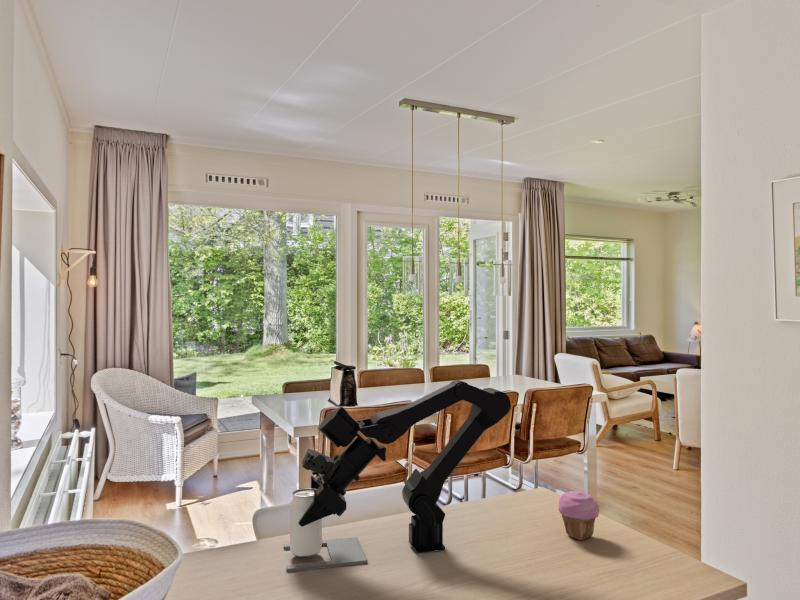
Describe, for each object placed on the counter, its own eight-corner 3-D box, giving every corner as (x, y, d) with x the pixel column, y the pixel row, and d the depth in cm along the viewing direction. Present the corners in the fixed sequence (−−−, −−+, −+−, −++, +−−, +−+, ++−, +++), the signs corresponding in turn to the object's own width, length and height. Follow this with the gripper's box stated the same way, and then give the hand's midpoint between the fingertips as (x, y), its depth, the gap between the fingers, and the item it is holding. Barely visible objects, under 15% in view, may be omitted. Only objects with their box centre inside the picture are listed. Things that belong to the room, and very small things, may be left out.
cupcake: (583, 547, 121) (583, 501, 121) (550, 535, 128) (550, 490, 128) (606, 537, 126) (606, 492, 127) (573, 525, 133) (573, 483, 133)
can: (315, 559, 112) (315, 498, 112) (285, 556, 113) (285, 496, 114) (326, 545, 118) (326, 488, 119) (297, 543, 120) (297, 486, 120)
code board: (357, 539, 124) (357, 536, 125) (367, 563, 113) (367, 560, 113) (283, 546, 120) (283, 543, 120) (286, 572, 109) (286, 568, 109)
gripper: (321, 427, 126) (271, 480, 124) (329, 446, 108) (270, 509, 105) (356, 460, 128) (307, 512, 125) (369, 485, 109) (312, 547, 107)
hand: (299, 519), depth 116 cm, fingers closed on can, 6 cm apart
